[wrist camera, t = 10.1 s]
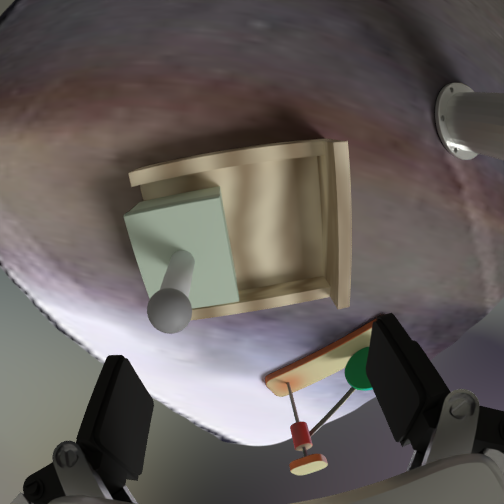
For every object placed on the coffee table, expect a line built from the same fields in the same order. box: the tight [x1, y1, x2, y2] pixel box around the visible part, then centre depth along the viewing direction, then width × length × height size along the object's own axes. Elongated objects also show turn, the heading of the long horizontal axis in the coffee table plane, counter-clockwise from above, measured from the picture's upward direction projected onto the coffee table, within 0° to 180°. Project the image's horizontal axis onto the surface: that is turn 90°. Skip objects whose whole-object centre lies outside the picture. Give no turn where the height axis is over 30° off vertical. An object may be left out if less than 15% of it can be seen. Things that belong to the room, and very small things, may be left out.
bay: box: [129, 139, 352, 320], centre depth 33 cm, size 23×20×7 cm
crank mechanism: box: [265, 315, 382, 475], centre depth 39 cm, size 25×7×19 cm, turn 120°
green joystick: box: [123, 186, 239, 334], centre depth 27 cm, size 10×12×17 cm
